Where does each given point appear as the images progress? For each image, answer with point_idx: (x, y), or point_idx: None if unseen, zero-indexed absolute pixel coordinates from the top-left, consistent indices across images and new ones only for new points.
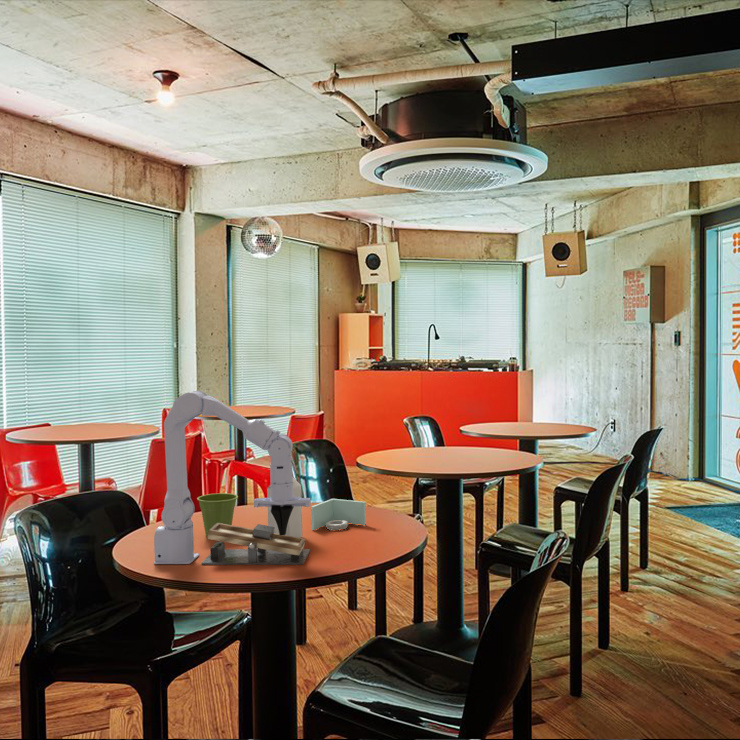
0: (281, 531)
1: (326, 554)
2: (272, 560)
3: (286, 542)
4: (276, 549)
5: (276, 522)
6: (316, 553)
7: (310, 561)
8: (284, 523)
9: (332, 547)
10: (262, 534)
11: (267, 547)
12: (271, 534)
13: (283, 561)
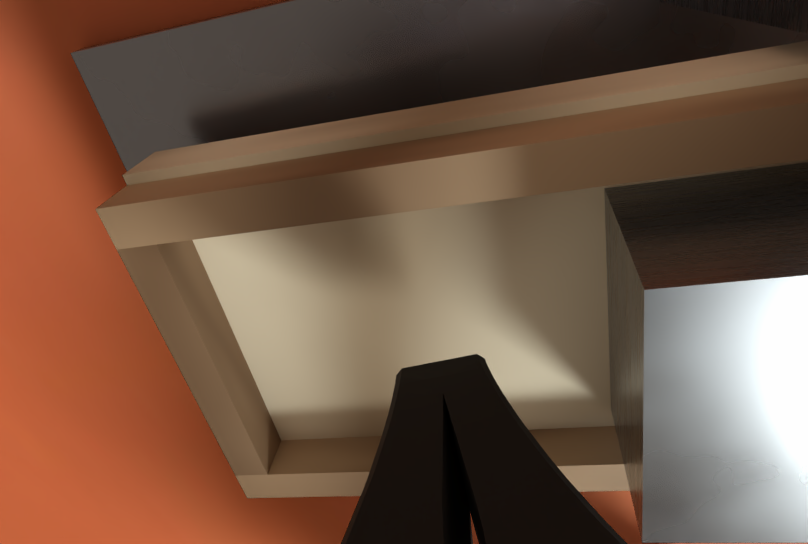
0: (450, 393)
1: (73, 397)
2: (479, 58)
3: (409, 364)
4: (445, 109)
5: (593, 514)
6: (177, 402)
7: (79, 183)
8: (380, 528)
9: (142, 538)
10: (793, 230)
11: (591, 89)
12: (627, 347)
13: (329, 45)
